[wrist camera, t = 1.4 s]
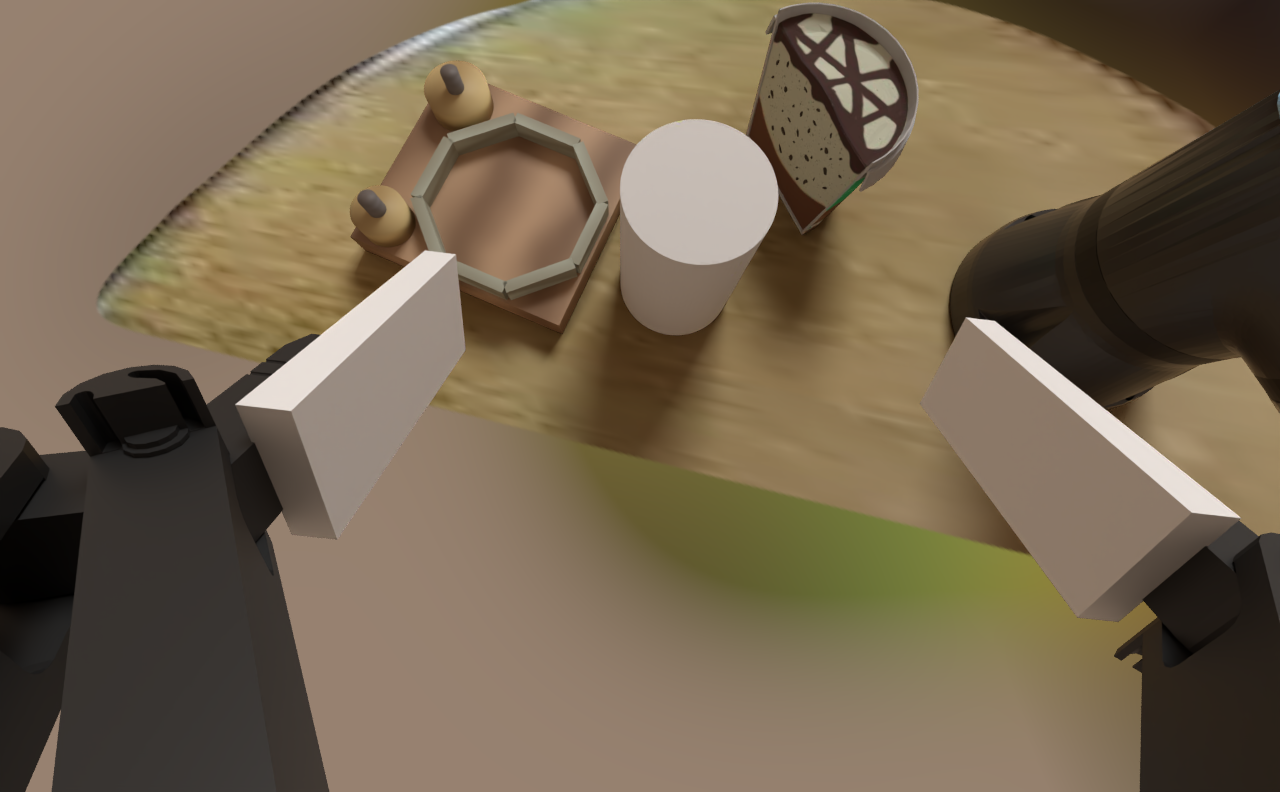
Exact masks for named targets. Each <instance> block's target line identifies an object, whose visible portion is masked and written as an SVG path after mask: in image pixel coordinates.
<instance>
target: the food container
mask: <svg viewBox="0 0 1280 792" xmlns="http://www.w3.org/2000/svg"><path fill="white" fill-rule="evenodd" d="M770 33H772V36H771V40H770V44H769V48H768V51H767V55H766V59H765V63H764V67H763V71H762V75H761V79H760V83H759V86H758V90H757V94H756V98H755V102H754V106H753V110H752V114H751V118H750V121H749V125H748V129H747V133H746V136H747V137H749V138H750V139H751V140H752V141H754V142H755V143H756V144H757V145H758V146H759V148H760V149H761V150H762V151H763V152H764V154H765V155H766V157H767V158H768V160H769V162H770V164H771V166H772V168H773V170H774V173H775V176H776V180H777V185H778V194H779V196H780V198H781V199H782V201H783V203H784V205H785V206H786V208H787V210H788V212H789V213H790V215H791V217H792V219H793V220H794V222H795V224H796V226H797V227H798V229H799V231H800V233H801V234H802V235H803V234H805V233H807V232H809V231H810V230H812V229H814V228H815V227H816V226H817V225H818V224H819V223H820V222H821V221H822V220H823V219H824V218H825V217H827V216H828V215H829V214H830V213H831V212H832V211H833V210H834V209H835V208H836V207H837V206H838V205H839V204H840V203H841V202H842V201H843V200H844V199H845V198H846V197H847V196H848V195H850V194H851V193H852V192H853V191H854V190H855V189H856V188H857V187H858V186H859V185H860V184H861V183H862V182H863V183H862V185H861V187H860V189H859V190H860V191H863V190H865V189H867V188H868V187H870V186H872V185H874V184H875V183H876V182H877V181H879V180H880V179H881V178H882V177H884V176H885V175H886V173H887V172H888V171H889V170H890V169H891V168H892V167H893V166H894V164H895V162H896V161H897V159H898V157H899V156H900V154H901V152H902V150H903V148H904V146H905V144H906V142H907V140H908V138H909V136H910V133H911V131H912V128H913V126H914V122H915V117H916V112H917V106H918V84H917V78H916V74H915V71H914V68H913V65H912V63H911V61H910V59H909V57H908V55H907V53H906V52H905V50H904V49H903V47H902V46H901V45H900V43H899V42H898V41H897V39H896V38H895V37H894V36H893V35H892V34H891V33H890V32H889V31H888V30H887V29H885V28H884V27H883V26H881V25H880V24H879V23H877V22H876V21H875V20H873V19H871V18H869V17H867V16H866V15H864V14H862V13H860V12H857V11H855V10H852V9H850V8H846V7H842V6H839V5H835V4H827V3H802V4H796V5H790V6H787V7H784V8H781V9H779V11H778V14H777V15H774V17H773V19H772V21H771V22H770V24H769V26H768V28H767V30H766V34H770Z"/></svg>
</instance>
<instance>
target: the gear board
mask: <svg viewBox="0 0 1280 792" xmlns="http://www.w3.org/2000/svg"><path fill="white" fill-rule="evenodd" d="M424 93H425V97H426V99H427V101H428V104H427V106H426V108H425V109H424V111H423V113H422V115H421V116H420V118H419V120H418V121H417V123H416V125H415V127H414V128H413V130H412V132H411V133H410V135H409V137H408V139H407V140H406V142H405V144H404V145H403V147H402V149H401V151H400V152H399V154H398V156H397V157H396V159H395V161H394V163H393V164H392V166H391V168H390V169H389V171H388V173H387V175H386V176H385V178H384V180H383V182H382V183H381V185H375V186H370V187H368V188H365V189H363V190H362V191H360V192H359V193H358V194H357V195H356V196H355V198H354V199H353V201H352V203H351V206H350V217H351V220H352V222H353V224H354V225H355V226H356V228H355V230H354V231H353V233H352V235H351V238H352V239H353V240H355V241H356V242H357V243H358V244H359V245H360V246H361V247H362V248H363V249H365V250H366V251H369V252H371V253H373V254H376V255H378V256H380V257H383V258H385V259H387V260H390V261H392V262H395V263H397V264H399V265H402V266H404V267H405V266H407V265H408V264H409V263H410V262H412V261H413V260H414V259H415V258H416V257H418V256H419V255H420V254H421V253H423V252H424V251H434V252H442V253H450V254H456V260H457V270H458V280H459V290H460V291H463V292H465V293H467V294H470V295H472V296H474V297H477V298H479V299H481V300H484V301H486V302H488V303H491V304H493V305H495V306H498V307H500V308H502V309H505V310H507V311H509V312H512V313H514V314H517V315H519V316H521V317H524V318H526V319H528V320H531V321H533V322H535V323H538V324H540V325H542V326H545V327H547V328H549V329H552V330H554V331H556V332H559V333H561V334H563V332H564V330H565V327H566V325H567V323H568V321H569V319H570V317H571V315H572V313H573V311H574V309H575V306H576V304H577V302H578V300H579V298H580V296H581V294H582V292H583V290H584V288H585V285H586V283H587V281H588V279H589V277H590V275H591V273H592V271H593V269H594V267H595V265H596V262H597V260H598V258H599V256H600V254H601V252H602V250H603V248H604V246H605V244H606V241H607V239H608V237H609V235H610V233H611V231H612V229H613V227H614V225H615V223H616V220H617V218H618V216H619V214H620V181H621V175H622V171H623V168H624V165H625V163H626V160H627V158H628V157H629V155H630V153H631V152H632V150H633V149H634V148H635V146H636V144H634V143H631V142H629V141H627V140H624V139H622V138H619V137H617V136H614V135H612V134H609V133H607V132H605V131H602V130H600V129H597V128H595V127H592V126H590V125H588V124H585V123H583V122H580V121H578V120H575V119H573V118H570V117H568V116H566V115H563V114H561V113H558V112H556V111H553V110H551V109H548V108H546V107H544V106H541V105H539V104H536V103H534V102H531V101H529V100H526V99H524V98H522V97H519V96H517V95H514V94H512V93H509V92H507V91H505V90H502V89H500V88H497V87H495V86H492V85H490V84H487V81H486V78H485V76H484V74H483V73H482V72H481V70H480V69H478V68H477V67H476V66H474V65H473V64H471V63H468V62H464V61H449V62H445V63H442V64H440V65H438V66H437V67H435V68H434V69H433V70H432V71H431V72H430V73H429V75H428V76H427V78H426V81H425V85H424Z"/></svg>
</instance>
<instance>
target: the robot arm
mask: <svg viewBox="0 0 1280 792" xmlns="http://www.w3.org/2000/svg"><path fill="white" fill-rule="evenodd" d="M950 308H951V319H952V324H953V329H954V332H955V336H956V337H955V339H954V341H953V342H952V344H951V346H950V348H949V350H948V352H947V354H946V356H945V357H944V359H943V361H942V363H941V365H940V367H939V369H938V370H937V372H936V374H935V376H934V378H933V380H932V382H931V383H930V385H929V387H928V389H927V391H926V393H925V395H924V397H923V398H922V400H921V402H920V405H921V406H922V407H923V409H924V410H925V411H926V413H927V414H928V415H929V417H930V418H931V420H932V421H933V422H934V424H935V425H936V426H937V428H938V429H939V430H940V432H941V433H942V435H943V436H944V437H945V439H946V440H947V441H948V443H949V444H950V445H951V447H952V448H953V449H954V451H955V452H956V454H957V455H958V456H959V458H960V459H961V460H962V462H963V463H964V464H965V466H966V467H967V468H968V470H969V471H970V473H971V474H972V475H973V477H974V478H975V479H976V481H977V482H978V483H979V485H980V486H981V487H982V489H983V490H984V492H985V493H986V494H987V496H988V497H989V498H990V500H991V501H992V502H993V504H994V505H995V506H996V508H997V509H998V511H999V512H1000V513H1001V515H1002V516H1003V517H1004V519H1005V520H1006V521H1007V523H1008V524H1009V525H1010V527H1011V528H1012V530H1013V531H1014V532H1015V534H1016V535H1017V536H1018V538H1019V539H1020V540H1021V542H1022V543H1023V544H1024V546H1025V547H1026V549H1027V550H1028V551H1029V553H1030V554H1031V555H1032V557H1033V558H1034V559H1035V561H1036V562H1037V563H1038V565H1039V566H1040V567H1041V569H1042V570H1043V572H1044V573H1045V574H1046V576H1047V577H1048V578H1049V580H1050V581H1051V582H1052V584H1053V585H1054V587H1055V588H1056V589H1057V591H1058V592H1059V593H1060V595H1061V596H1062V597H1063V599H1064V600H1065V601H1066V603H1067V604H1068V606H1069V607H1070V608H1071V610H1072V611H1073V612H1074V614H1075V615H1076V616H1077V617H1078V618H1086V619H1097V620H1105V621H1115V622H1119V621H1120V620H1121V619H1122V618H1123V617H1125V616H1126V615H1127V614H1128V613H1130V611H1132V610H1133V609H1134V608H1135V607H1137V606H1138V605H1139V604H1140V603H1141V602H1143V601H1144V602H1145V603H1146V604H1147V605H1148V606H1149V608H1150V609H1151V610H1152V611H1153V612H1154V613H1155V614H1156V616H1157V618H1156V619H1155V620H1154V621H1152V622H1151V623H1150V624H1148V625H1147V626H1146V627H1145V628H1143V629H1142V630H1141V631H1140V632H1139V633H1137V634H1136V635H1135V636H1133V637H1132V638H1131V639H1130V640H1128V641H1127V642H1126V643H1125V644H1123V645H1122V646H1121V647H1120V648H1118V649H1117V651H1116V653H1115V655H1114V657H1116V658H1118V659H1120V660H1123V659H1124V658H1126V657H1127V656H1128V655H1129V654H1133V653H1137V654H1140V655H1142V659H1141V660H1140V661H1139V662H1137V663H1136V664H1135V665H1133V668H1135V669H1137V670H1138V671H1140V672H1141V673H1142V706H1141V762H1140V792H1280V534H1276V533H1267V534H1262V535H1260V536H1257V535H1256V534H1255V533H1254V532H1252V531H1251V530H1250V529H1249V528H1247V527H1246V526H1245V525H1244V524H1242V523H1241V522H1240V521H1239V520H1240V519H1241V518H1240V517H1239V516H1238V515H1237V514H1235V513H1234V512H1233V511H1232V510H1230V509H1229V508H1228V507H1227V506H1225V505H1224V504H1223V503H1222V502H1220V501H1219V500H1218V499H1217V498H1215V497H1214V496H1213V495H1212V494H1210V493H1209V492H1208V491H1207V490H1205V489H1204V488H1203V487H1202V486H1200V485H1199V484H1198V483H1197V482H1195V481H1194V480H1193V479H1192V478H1190V477H1189V476H1188V475H1187V474H1185V473H1184V472H1183V471H1182V470H1180V469H1179V468H1178V467H1177V466H1175V465H1174V464H1173V463H1172V462H1170V461H1169V460H1168V459H1167V458H1165V457H1164V456H1163V455H1162V454H1160V453H1159V452H1158V451H1157V450H1155V449H1154V448H1153V447H1152V446H1150V445H1149V444H1148V443H1147V442H1145V441H1144V440H1143V439H1142V438H1140V437H1139V436H1138V435H1137V434H1135V433H1134V432H1133V431H1132V430H1130V429H1129V428H1128V427H1127V426H1125V425H1124V424H1123V423H1122V422H1120V421H1119V420H1118V419H1117V418H1115V417H1114V416H1113V415H1112V414H1110V413H1109V412H1108V411H1107V409H1111V408H1115V407H1118V406H1121V405H1124V404H1126V403H1128V402H1131V401H1133V400H1134V399H1136V398H1138V397H1140V396H1142V395H1143V394H1145V393H1146V392H1148V391H1149V390H1151V389H1152V388H1153V387H1154V386H1156V385H1158V384H1160V383H1162V382H1164V381H1167V380H1170V379H1172V378H1174V377H1177V376H1179V375H1181V374H1183V373H1185V372H1187V371H1189V370H1191V369H1193V368H1195V367H1197V366H1199V365H1202V364H1206V363H1212V362H1217V361H1221V360H1226V359H1231V358H1238V357H1242V359H1243V360H1244V361H1245V363H1246V364H1247V365H1248V367H1249V368H1250V370H1251V371H1252V372H1253V374H1254V375H1255V377H1256V378H1257V380H1258V381H1259V383H1260V384H1261V385H1262V387H1263V388H1264V390H1265V391H1266V393H1267V394H1268V396H1269V398H1270V400H1271V401H1272V403H1273V404H1274V406H1275V407H1276V409H1277V410H1278V412H1279V413H1280V90H1278V91H1277V92H1275V93H1273V94H1272V95H1270V96H1268V97H1267V98H1265V99H1263V100H1262V101H1260V102H1258V103H1257V104H1255V105H1253V106H1252V107H1250V108H1248V109H1247V110H1245V111H1243V112H1242V113H1240V114H1238V115H1237V116H1235V117H1233V118H1232V119H1230V120H1228V121H1226V122H1225V123H1223V124H1221V125H1220V126H1218V127H1216V128H1214V129H1213V130H1211V131H1209V132H1208V133H1206V134H1204V135H1203V136H1201V137H1199V138H1197V139H1196V140H1194V141H1192V142H1191V143H1189V144H1187V145H1185V146H1184V147H1182V148H1180V149H1179V150H1177V151H1175V152H1174V153H1172V154H1170V155H1168V156H1167V157H1165V158H1163V159H1162V160H1160V161H1158V162H1156V163H1155V164H1153V165H1151V166H1150V167H1148V168H1146V169H1144V170H1143V171H1141V172H1139V173H1138V174H1136V175H1134V176H1133V177H1131V178H1129V179H1128V180H1126V181H1124V182H1123V183H1121V184H1119V185H1118V186H1116V187H1114V188H1112V189H1111V190H1109V191H1108V192H1106V193H1104V194H1102V195H1099V196H1095V197H1091V198H1088V199H1084V200H1080V201H1077V202H1074V203H1071V204H1068V205H1065V206H1063V207H1061V208H1059V209H1050V210H1044V211H1039V212H1035V213H1032V214H1028V215H1025V216H1023V217H1020V218H1018V219H1016V220H1013V221H1011V222H1009V223H1008V224H1006V225H1004V226H1003V227H1001V228H1000V229H998V230H997V231H995V232H994V233H992V234H991V235H989V236H988V237H986V238H985V239H983V240H982V241H980V242H979V243H978V244H977V245H976V246H975V247H974V248H973V249H972V250H971V251H970V252H969V253H968V254H967V256H966V257H965V258H964V260H963V261H962V263H961V265H960V267H959V269H958V271H957V273H956V276H955V279H954V282H953V286H952V291H951V303H950ZM465 350H466V349H465V339H464V329H463V319H462V309H461V300H460V290H459V280H458V270H457V260H456V254H450V253H442V252H434V251H424V252H423V253H421V254H420V255H419V256H418V257H416V258H415V259H414V260H413V261H412V262H410V263H409V264H408V265H407V266H405V267H404V268H403V269H402V270H400V271H399V272H398V273H397V274H396V275H394V276H393V277H392V278H391V279H389V280H388V281H387V282H386V283H384V284H383V285H382V286H381V287H380V288H378V289H377V290H376V291H375V292H373V293H372V294H371V295H370V296H368V297H367V298H366V299H365V300H363V301H362V302H361V303H360V304H359V305H357V306H356V307H355V308H354V309H352V310H351V311H350V312H349V313H347V314H346V315H345V316H344V317H343V318H341V319H340V320H339V321H338V322H336V323H335V324H334V325H333V326H331V327H330V328H329V329H328V330H326V331H325V332H324V333H323V334H322V335H317V334H310V335H308V336H305V337H303V338H301V339H298V340H296V341H293V342H291V343H289V344H286V345H284V346H283V347H282V348H280V349H279V350H278V351H277V352H275V353H274V354H273V355H271V356H270V357H269V358H267V359H266V362H262V363H261V364H259V365H258V366H257V367H256V368H254V369H253V370H252V371H251V374H250V375H248V374H247V375H245V376H244V377H242V378H241V379H240V380H238V381H237V382H236V383H234V384H233V385H232V386H231V387H229V388H228V389H227V390H225V391H224V392H223V393H222V394H220V395H219V396H217V397H216V398H215V399H214V400H212V401H211V402H210V403H208V404H207V405H206V403H205V401H204V399H203V397H202V395H201V392H200V390H199V388H198V386H197V384H196V382H195V380H194V378H193V377H192V375H191V374H190V373H189V371H188V370H185V369H181V368H178V367H176V366H164V365H149V366H141V367H131V368H126V369H122V370H118V371H114V372H110V373H106V374H103V375H100V376H98V377H95V378H93V379H90V380H88V381H85V382H83V383H80V384H79V385H77V386H76V387H74V388H73V389H71V390H70V391H68V392H66V393H65V394H64V395H63V396H62V397H61V398H60V400H59V401H58V403H57V404H56V406H55V407H56V409H57V410H58V411H59V413H60V414H61V416H62V417H63V419H64V420H65V421H66V423H67V424H68V426H69V427H70V429H71V430H72V431H73V433H74V434H75V436H76V437H77V439H78V440H79V441H80V443H81V444H82V446H83V447H84V449H85V450H86V451H78V452H68V453H57V454H46V455H39V454H38V453H37V452H36V450H35V449H34V448H33V446H32V445H31V444H30V443H29V441H28V440H27V439H26V438H25V436H24V435H23V434H22V433H21V432H20V431H17V430H12V429H8V428H3V427H1V428H0V792H25V791H26V788H27V786H28V784H29V781H30V779H31V777H32V774H33V772H34V770H35V768H36V765H37V763H38V761H39V758H40V756H41V754H42V751H43V749H44V747H45V745H46V742H47V740H48V738H49V735H50V733H51V731H52V728H53V726H54V724H55V721H56V719H57V717H58V715H59V712H60V710H61V715H60V723H59V732H58V741H57V750H56V758H55V767H54V776H53V786H52V792H329V789H328V784H327V780H326V775H325V771H324V767H323V762H322V758H321V754H320V749H319V745H318V740H317V736H316V732H315V727H314V723H313V719H312V714H311V710H310V706H309V702H308V697H307V693H306V688H305V684H304V679H303V675H302V671H301V666H300V662H299V658H298V654H297V649H296V645H295V640H294V637H293V632H292V627H291V623H290V619H289V614H288V610H287V606H286V601H285V597H284V592H283V588H282V584H281V579H280V575H279V571H278V567H277V562H276V558H275V553H274V549H273V545H272V542H271V540H270V537H269V535H268V533H267V531H266V529H267V528H268V527H269V526H270V525H271V523H272V522H273V521H274V520H275V519H276V517H277V516H278V515H279V514H280V513H281V511H282V513H283V515H284V518H285V520H286V522H287V525H288V527H289V529H290V532H291V534H292V535H299V536H308V537H317V538H328V539H336V540H337V539H338V538H339V536H340V535H341V533H342V532H343V530H344V529H345V527H346V526H347V524H348V523H349V522H350V520H351V518H352V517H353V516H354V514H355V513H356V511H357V510H358V508H359V507H360V505H361V504H362V502H363V501H364V499H365V498H366V496H367V495H368V493H369V492H370V490H371V489H372V488H373V486H374V485H375V483H376V482H377V480H378V478H379V477H380V475H381V474H382V473H383V471H384V470H385V468H386V467H387V465H388V464H389V462H390V461H391V459H392V458H393V456H394V455H395V454H396V452H397V451H398V449H399V448H400V446H401V445H402V443H403V442H404V440H405V439H406V437H407V436H408V434H409V433H410V431H411V430H412V428H413V427H414V425H415V424H416V423H417V421H418V420H419V418H420V416H421V415H422V414H423V412H424V411H425V409H426V408H427V406H428V405H429V403H430V402H431V400H432V399H433V397H434V396H435V394H436V393H437V392H438V390H439V389H440V387H441V386H442V384H443V383H444V381H445V380H446V378H447V377H448V375H449V374H450V372H451V371H452V369H453V368H454V366H455V365H456V363H457V362H458V360H459V359H460V358H461V356H462V355H463V353H464V352H465Z"/></svg>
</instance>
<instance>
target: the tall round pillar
mask: <svg viewBox="0 0 1280 792" xmlns="http://www.w3.org/2000/svg"><path fill="white" fill-rule="evenodd" d="M777 206H778V185H777V180H776V176H775V173H774V170H773V168H772V166H771V164H770V162H769V160H768V158H767V157H766V155H765V154H764V152H763V151H762V150H761V149H760V148H759V146H758V145H757V144H756V143H755V142H754V141H752V140H751V139H750V138H749V137H747V136H746V135H745V134H743V133H742V132H740V131H738V130H736V129H735V128H732V127H730V126H728V125H725V124H722V123H719V122H715V121H710V120H701V119H691V120H682V121H677V122H673V123H670V124H667V125H664V126H662V127H660V128H658V129H656V130H654V131H652V132H651V133H650V134H648V135H647V136H646V137H644V138H643V139H642V140H641V141H640V142H639V143H638V144H637V145H636V146H635V148H634V149H633V150H632V152H631V153H630V155H629V157H628V158H627V160H626V163H625V165H624V168H623V171H622V175H621V181H620V284H621V292H622V297H623V300H624V302H625V304H626V306H627V308H628V310H629V311H630V313H631V314H632V315H633V316H634V317H635V318H636V319H637V320H638V321H639V322H640V323H641V324H643V325H644V326H646V327H647V328H649V329H651V330H653V331H656V332H658V333H662V334H667V335H685V334H690V333H693V332H696V331H699V330H701V329H703V328H704V327H706V326H707V325H709V324H710V323H711V322H712V321H713V320H714V319H715V318H716V317H717V316H718V315H719V313H720V312H721V310H722V309H723V307H724V305H725V304H726V302H727V300H728V298H729V297H730V295H731V293H732V292H733V290H734V288H735V286H736V285H737V283H738V281H739V280H740V278H741V276H742V275H743V273H744V271H745V269H746V268H747V266H748V264H749V263H750V261H751V259H752V257H753V256H754V254H755V252H756V251H757V249H758V247H759V245H760V244H761V242H762V240H763V239H764V237H765V235H766V233H767V232H768V230H769V228H770V226H771V225H772V222H773V220H774V217H775V215H776V211H777Z"/></svg>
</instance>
